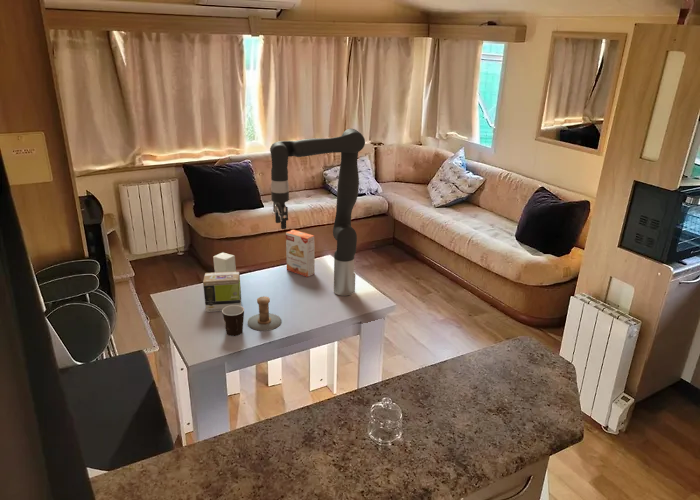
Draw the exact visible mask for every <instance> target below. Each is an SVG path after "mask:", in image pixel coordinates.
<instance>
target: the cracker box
mask: <svg viewBox="0 0 700 500" xmlns="http://www.w3.org/2000/svg"><path fill="white" fill-rule="evenodd" d="M315 236H316V235H313V234H311V233H307V232H304V231H301V230H300V231H299V230H296V229H291V230H289V231H286V232H285V245H286V246H285V251H286V253H285V254H286V271H289V272H292V273H295V274H298V275H300V276H303V277H306V278H309V277H311V276H312V275H314V274H315V273H316V272H315V263H316V262H315V258H316V257H315V256H316V255H315V251H316V250H315V239H316V238H315Z"/></svg>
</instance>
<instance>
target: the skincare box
mask: <svg viewBox="0 0 700 500" xmlns="http://www.w3.org/2000/svg"><path fill="white" fill-rule="evenodd" d="M212 258H213V268H214V272H233V271H237V269H236V268H237V267H236V256H235V255H234V254H229V253H226V252H224V251H222V252H220V253H218V254H215V255H214V256H212Z"/></svg>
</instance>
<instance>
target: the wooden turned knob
mask: <svg viewBox="0 0 700 500" xmlns="http://www.w3.org/2000/svg"><path fill="white" fill-rule="evenodd" d="M256 302H257V304H258V314H259V318H258V323H259V324H269V323H270V322H271V318H270V317H269V313H270V307H269V305H270V302H271V298H270V297H269V296H264V295H263V296H259V297H257V299H256Z"/></svg>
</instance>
